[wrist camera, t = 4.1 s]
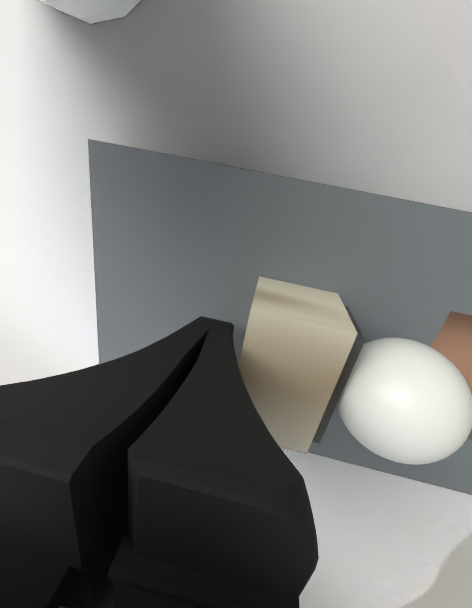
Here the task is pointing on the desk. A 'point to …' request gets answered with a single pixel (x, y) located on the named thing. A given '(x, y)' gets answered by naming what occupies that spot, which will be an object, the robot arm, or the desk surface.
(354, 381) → the ball
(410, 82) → the desk surface
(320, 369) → the cream rectangular block
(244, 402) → the robot arm
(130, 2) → the foam cup
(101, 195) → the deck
